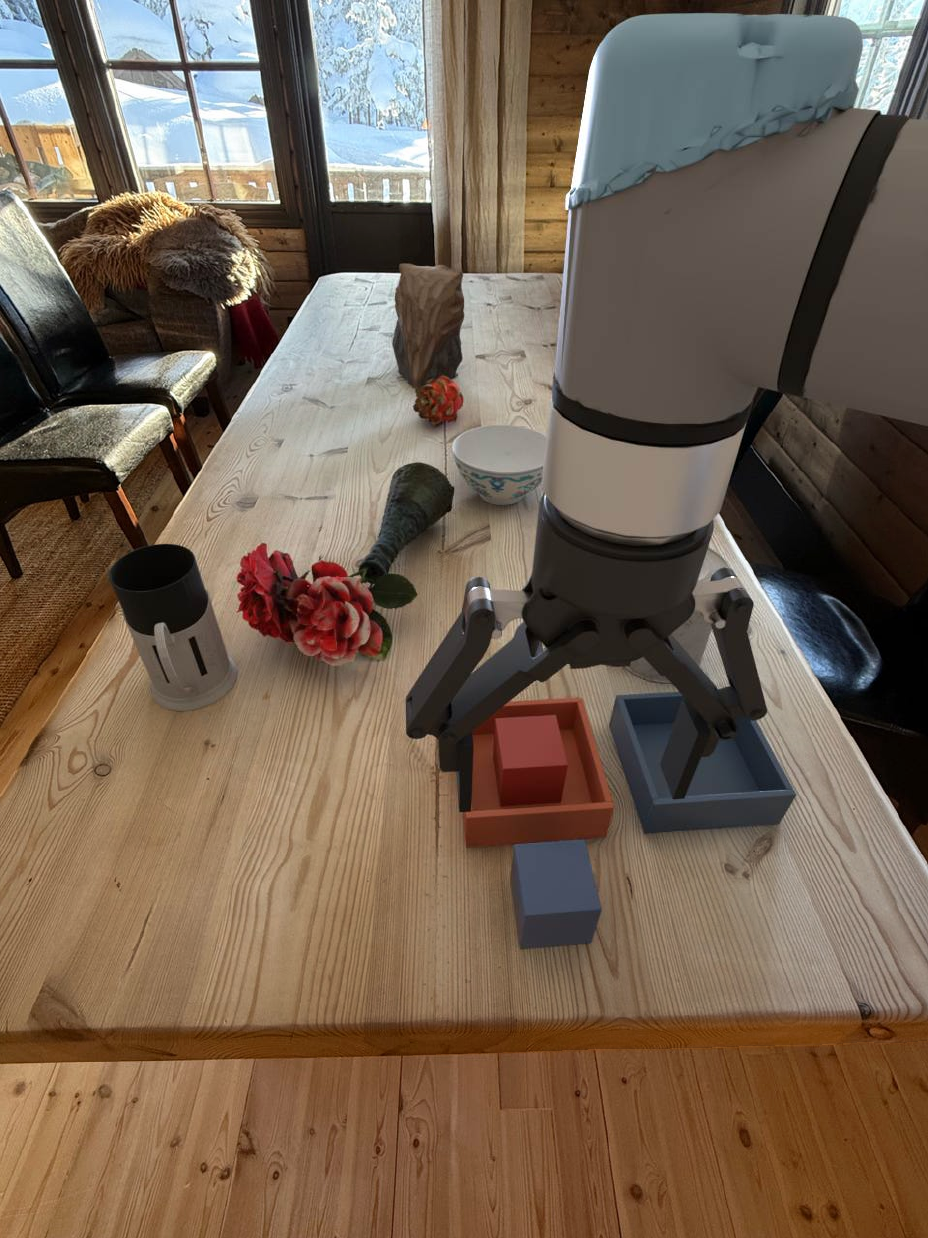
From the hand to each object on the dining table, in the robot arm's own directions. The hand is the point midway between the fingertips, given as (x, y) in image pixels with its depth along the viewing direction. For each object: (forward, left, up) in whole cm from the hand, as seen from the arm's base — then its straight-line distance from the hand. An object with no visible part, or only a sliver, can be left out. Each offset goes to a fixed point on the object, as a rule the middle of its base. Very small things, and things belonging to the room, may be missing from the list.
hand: (568, 787), depth 42 cm
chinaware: (+63, -5, -16) cm, 65 cm away
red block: (+11, 0, -15) cm, 19 cm away
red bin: (+11, 0, -15) cm, 19 cm away
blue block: (-1, 0, -15) cm, 15 cm away
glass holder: (+24, +32, -16) cm, 43 cm away
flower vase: (+41, +15, -16) cm, 47 cm away
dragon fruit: (+90, +3, -16) cm, 92 cm away
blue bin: (+11, -16, -15) cm, 25 cm away
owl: (+111, +5, -16) cm, 112 cm away
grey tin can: (+27, -18, -16) cm, 36 cm away
